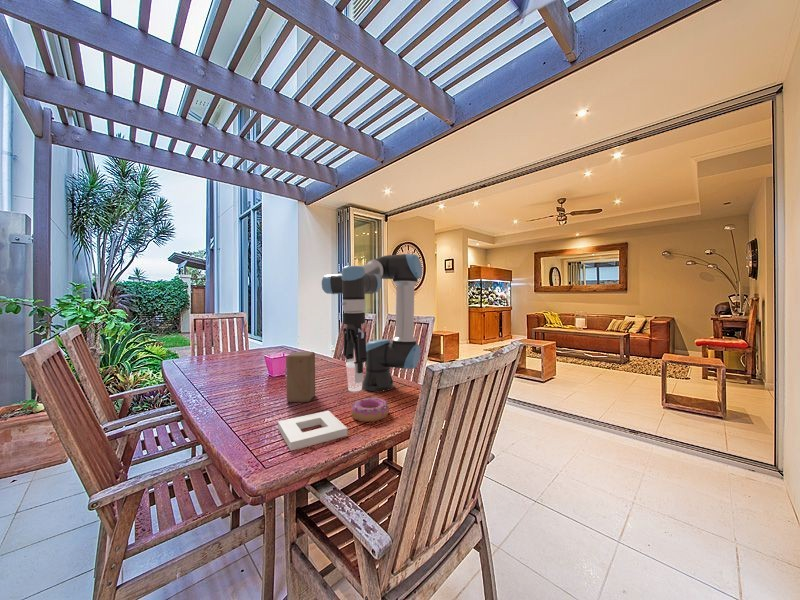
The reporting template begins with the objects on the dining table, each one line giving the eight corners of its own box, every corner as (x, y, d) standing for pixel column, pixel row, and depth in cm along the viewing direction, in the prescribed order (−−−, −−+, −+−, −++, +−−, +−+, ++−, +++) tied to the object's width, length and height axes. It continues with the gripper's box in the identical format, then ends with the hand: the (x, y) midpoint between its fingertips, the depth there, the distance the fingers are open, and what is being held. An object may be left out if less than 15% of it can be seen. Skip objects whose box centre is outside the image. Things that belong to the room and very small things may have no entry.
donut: (344, 415, 120) (344, 402, 120) (374, 406, 129) (374, 393, 129) (365, 427, 109) (365, 413, 109) (396, 416, 118) (396, 403, 118)
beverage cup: (351, 385, 111) (351, 346, 110) (367, 387, 109) (366, 347, 108) (342, 390, 105) (341, 349, 105) (358, 393, 103) (357, 350, 102)
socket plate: (328, 417, 118) (328, 410, 118) (347, 435, 102) (347, 428, 102) (278, 428, 108) (277, 421, 108) (290, 450, 93) (290, 442, 93)
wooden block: (309, 402, 133) (308, 355, 132) (285, 402, 133) (285, 355, 132) (316, 395, 143) (315, 351, 142) (294, 395, 143) (293, 351, 142)
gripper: (333, 310, 112) (334, 375, 113) (355, 314, 96) (356, 389, 97) (352, 309, 116) (353, 371, 117) (377, 313, 100) (377, 384, 101)
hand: (354, 379), depth 107 cm, fingers closed on beverage cup, 6 cm apart
